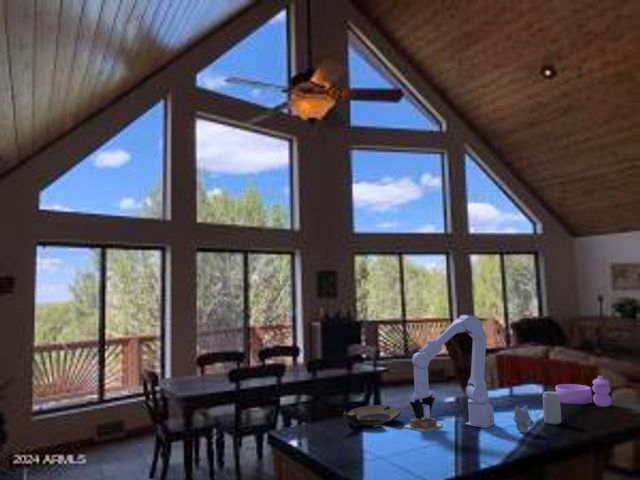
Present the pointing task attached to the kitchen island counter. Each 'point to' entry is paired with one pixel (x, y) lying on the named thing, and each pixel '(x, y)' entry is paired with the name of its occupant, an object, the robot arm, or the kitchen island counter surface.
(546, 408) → the beverage can
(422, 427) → the collar
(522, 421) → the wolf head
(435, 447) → the kitchen island counter surface
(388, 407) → the olive shallow bowl
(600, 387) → the container set
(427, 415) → the peg
